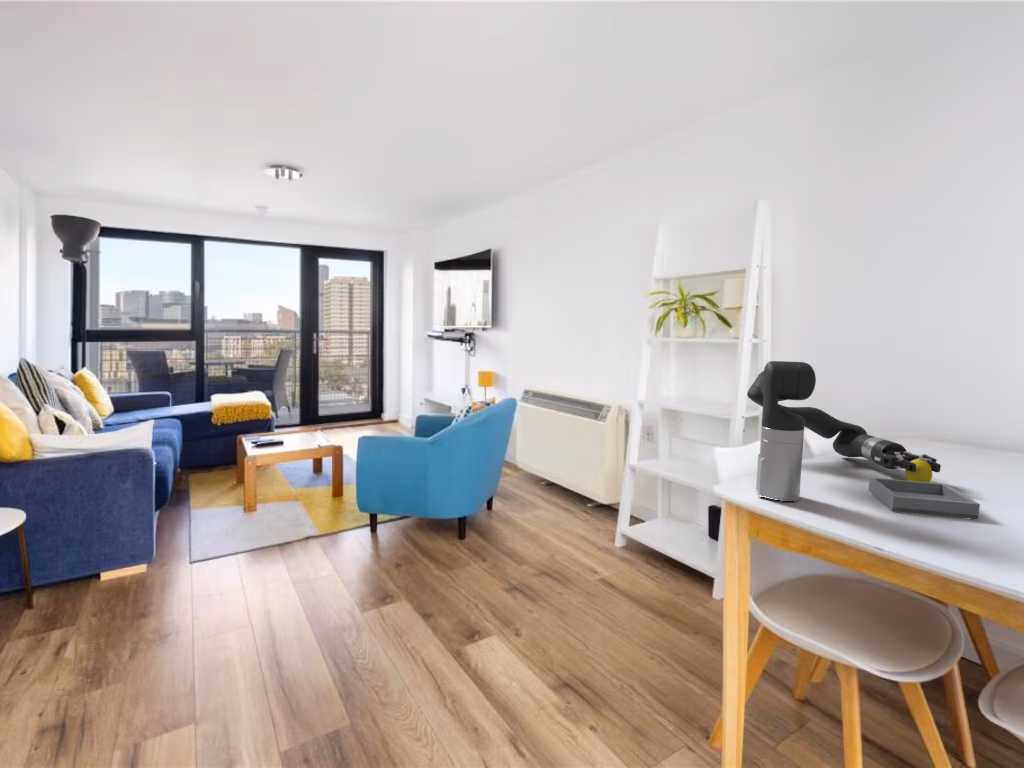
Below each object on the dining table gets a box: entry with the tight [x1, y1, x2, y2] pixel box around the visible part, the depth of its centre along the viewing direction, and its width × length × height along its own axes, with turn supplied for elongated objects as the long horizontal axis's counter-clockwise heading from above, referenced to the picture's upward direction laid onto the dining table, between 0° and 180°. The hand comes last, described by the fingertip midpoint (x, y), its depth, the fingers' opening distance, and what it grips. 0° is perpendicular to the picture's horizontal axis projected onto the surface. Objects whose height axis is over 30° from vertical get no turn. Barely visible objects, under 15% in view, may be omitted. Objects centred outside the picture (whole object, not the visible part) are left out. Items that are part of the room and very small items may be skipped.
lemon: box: [904, 458, 933, 483], centre depth 136 cm, size 6×6×8 cm
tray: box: [868, 477, 981, 520], centre depth 124 cm, size 16×16×4 cm
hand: (926, 468), depth 134 cm, fingers closed on lemon, 5 cm apart
